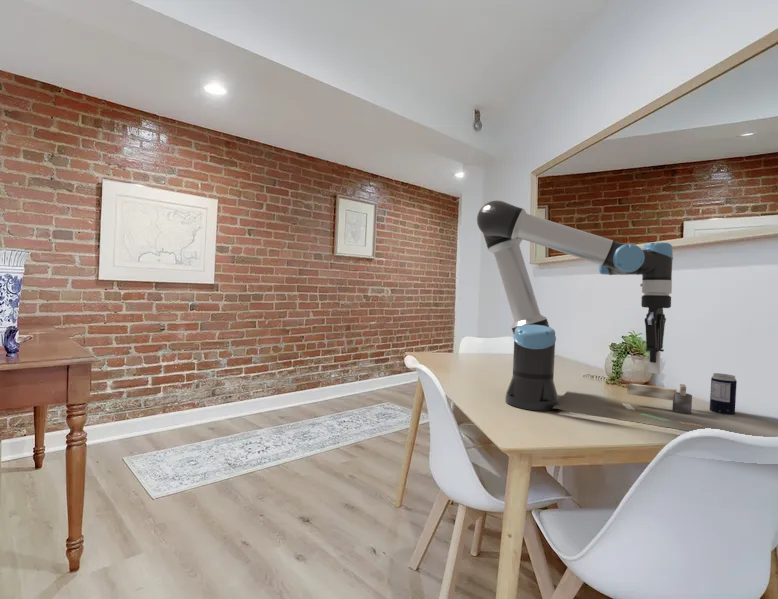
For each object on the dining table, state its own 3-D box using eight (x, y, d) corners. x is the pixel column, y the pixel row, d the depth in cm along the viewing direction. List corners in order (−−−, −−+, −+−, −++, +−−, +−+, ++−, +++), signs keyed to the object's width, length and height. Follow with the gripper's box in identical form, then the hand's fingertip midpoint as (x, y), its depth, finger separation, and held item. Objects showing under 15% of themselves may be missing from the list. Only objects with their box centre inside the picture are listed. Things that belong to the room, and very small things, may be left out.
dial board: (613, 418, 115) (614, 413, 115) (617, 404, 130) (617, 400, 130) (705, 434, 104) (705, 428, 104) (697, 416, 120) (698, 411, 120)
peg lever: (616, 403, 126) (618, 378, 126) (617, 400, 129) (619, 376, 129) (691, 415, 116) (693, 388, 116) (690, 411, 120) (691, 385, 120)
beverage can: (739, 420, 118) (741, 377, 117) (716, 418, 119) (718, 376, 118) (727, 414, 123) (729, 373, 123) (705, 413, 124) (707, 372, 124)
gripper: (648, 294, 134) (646, 368, 134) (635, 294, 125) (632, 373, 125) (676, 295, 129) (674, 372, 129) (664, 294, 120) (662, 377, 120)
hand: (653, 372), depth 127 cm, fingers closed
